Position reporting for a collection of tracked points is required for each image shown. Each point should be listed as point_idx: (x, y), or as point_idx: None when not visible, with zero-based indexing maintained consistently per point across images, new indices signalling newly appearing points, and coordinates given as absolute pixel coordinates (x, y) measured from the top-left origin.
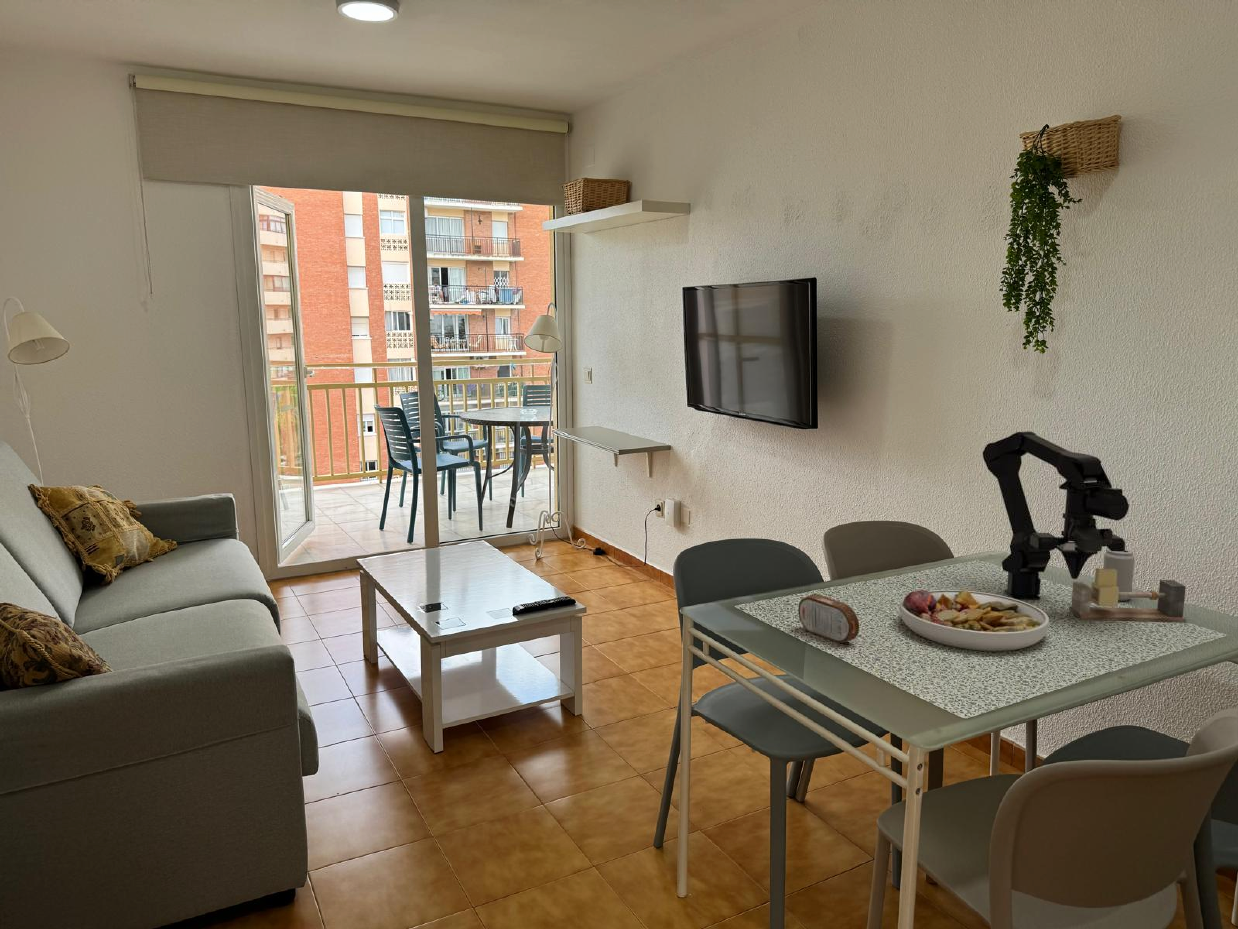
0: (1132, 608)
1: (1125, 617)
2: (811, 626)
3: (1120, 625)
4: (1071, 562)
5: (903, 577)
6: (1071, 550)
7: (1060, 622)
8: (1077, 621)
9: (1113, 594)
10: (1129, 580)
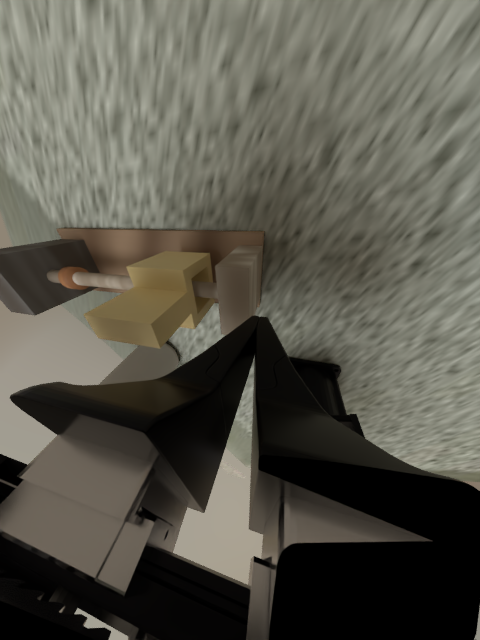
0: None
1: (162, 230)
2: None
3: (184, 184)
4: (291, 371)
5: (457, 464)
6: (353, 533)
7: (345, 195)
8: (284, 213)
9: (155, 260)
10: (122, 363)
